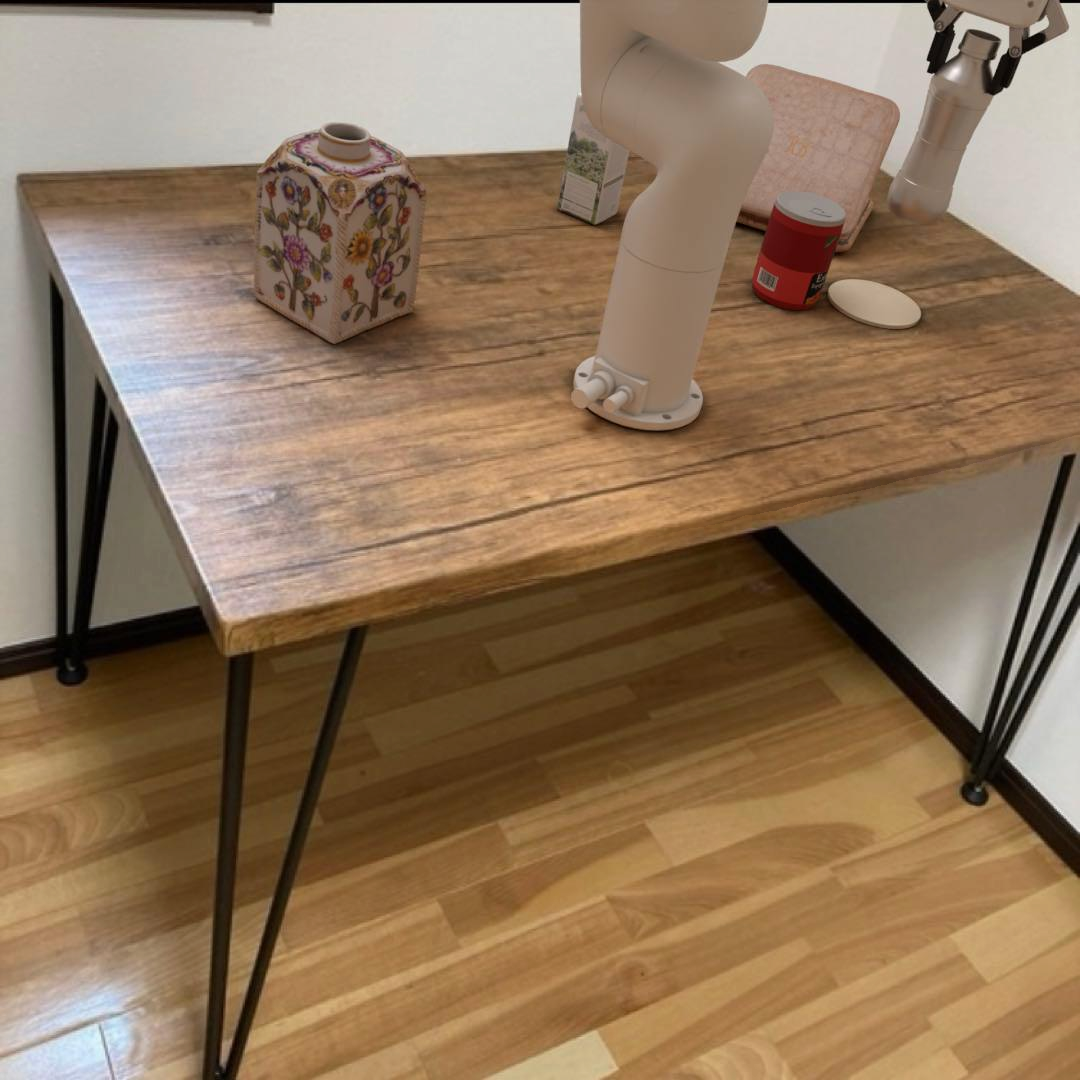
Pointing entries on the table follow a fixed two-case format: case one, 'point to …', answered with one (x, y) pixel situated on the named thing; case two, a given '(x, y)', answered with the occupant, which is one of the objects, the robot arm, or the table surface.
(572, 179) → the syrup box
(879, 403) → the table surface
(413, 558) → the table surface
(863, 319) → the coaster
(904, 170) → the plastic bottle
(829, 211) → the canned food
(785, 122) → the case
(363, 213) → the decorative jar
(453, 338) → the table surface
